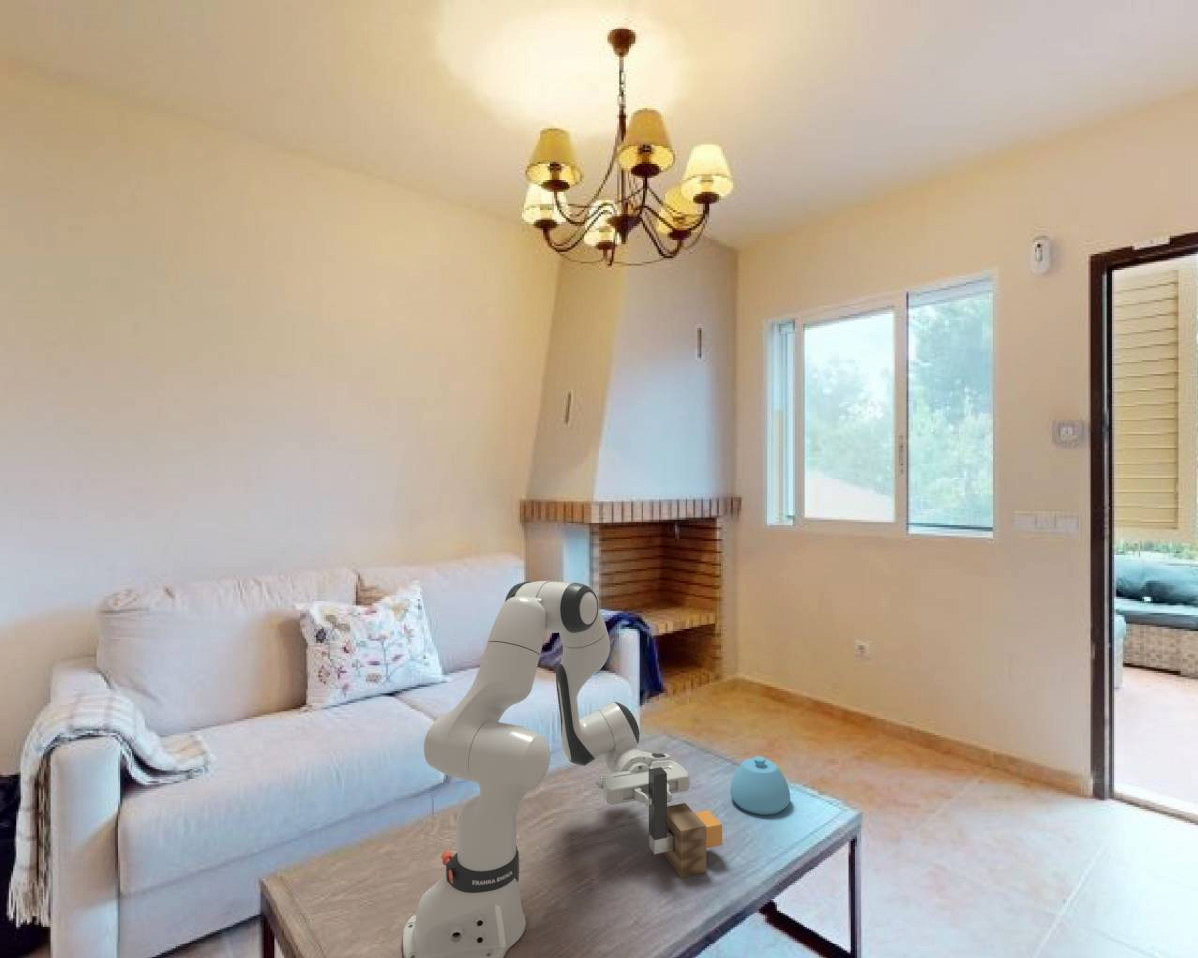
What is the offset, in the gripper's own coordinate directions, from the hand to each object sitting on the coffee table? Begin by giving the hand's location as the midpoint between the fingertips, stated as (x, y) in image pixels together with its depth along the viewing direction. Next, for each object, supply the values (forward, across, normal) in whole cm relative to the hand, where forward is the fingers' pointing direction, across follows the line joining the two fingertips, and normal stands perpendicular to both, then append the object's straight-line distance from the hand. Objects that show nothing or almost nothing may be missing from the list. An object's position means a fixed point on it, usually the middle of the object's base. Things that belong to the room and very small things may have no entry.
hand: (659, 800), depth 138 cm
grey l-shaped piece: (-1, +7, +11) cm, 13 cm away
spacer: (-1, +12, +11) cm, 16 cm away
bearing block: (-1, +6, +15) cm, 16 cm away
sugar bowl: (-17, +36, +15) cm, 43 cm away
